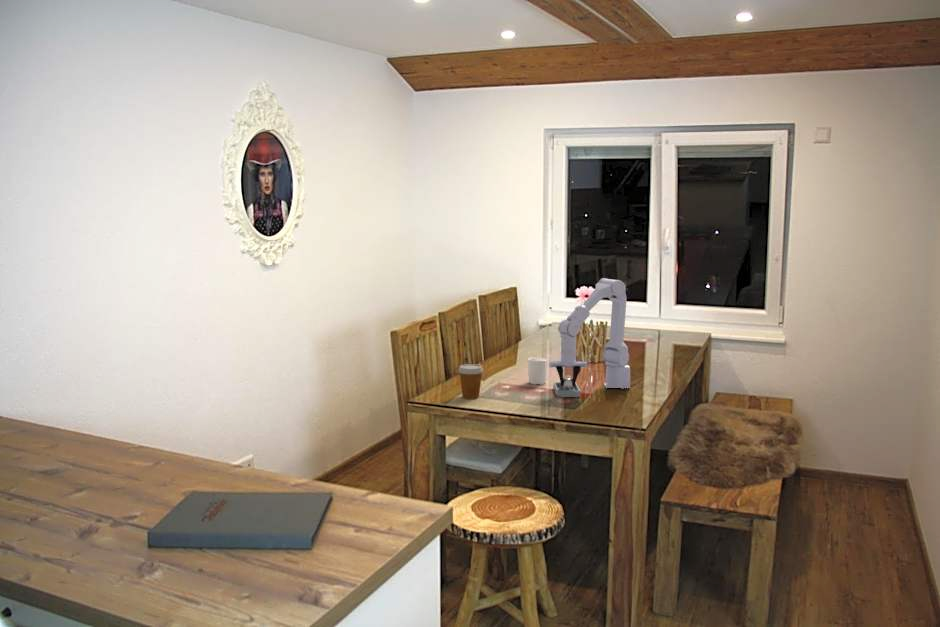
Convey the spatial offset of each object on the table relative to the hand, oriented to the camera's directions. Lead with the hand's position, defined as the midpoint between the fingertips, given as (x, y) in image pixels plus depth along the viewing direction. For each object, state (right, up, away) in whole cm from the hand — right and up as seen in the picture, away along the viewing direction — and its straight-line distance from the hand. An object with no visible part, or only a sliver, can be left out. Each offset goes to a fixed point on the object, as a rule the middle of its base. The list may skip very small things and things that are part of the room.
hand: (567, 385), depth 308 cm
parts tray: (0, -3, +3) cm, 5 cm away
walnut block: (0, -2, +7) cm, 7 cm away
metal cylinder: (0, -2, 0) cm, 2 cm away
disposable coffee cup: (-38, -4, -4) cm, 38 cm away
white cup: (-10, -1, +19) cm, 22 cm away
